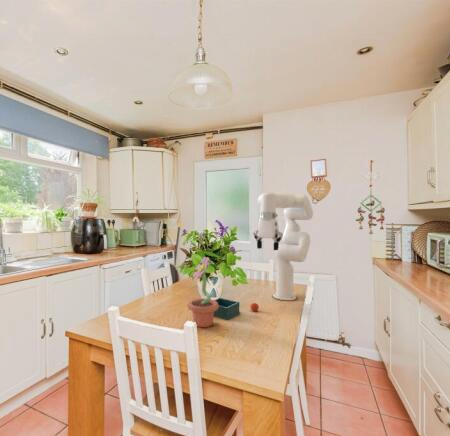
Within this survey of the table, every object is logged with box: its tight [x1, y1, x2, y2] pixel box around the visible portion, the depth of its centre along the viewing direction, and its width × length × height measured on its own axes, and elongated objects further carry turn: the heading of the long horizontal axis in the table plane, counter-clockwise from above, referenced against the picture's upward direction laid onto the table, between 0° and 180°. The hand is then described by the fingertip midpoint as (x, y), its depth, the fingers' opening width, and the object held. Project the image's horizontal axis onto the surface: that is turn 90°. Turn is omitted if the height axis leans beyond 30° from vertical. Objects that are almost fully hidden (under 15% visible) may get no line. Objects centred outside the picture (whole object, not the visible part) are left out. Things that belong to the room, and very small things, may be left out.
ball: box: [250, 302, 260, 312], centre depth 140 cm, size 4×4×4 cm
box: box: [213, 297, 240, 321], centre depth 136 cm, size 12×12×6 cm
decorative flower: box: [187, 256, 219, 328], centre depth 123 cm, size 15×14×30 cm
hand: (267, 249), depth 143 cm, fingers open, 9 cm apart
